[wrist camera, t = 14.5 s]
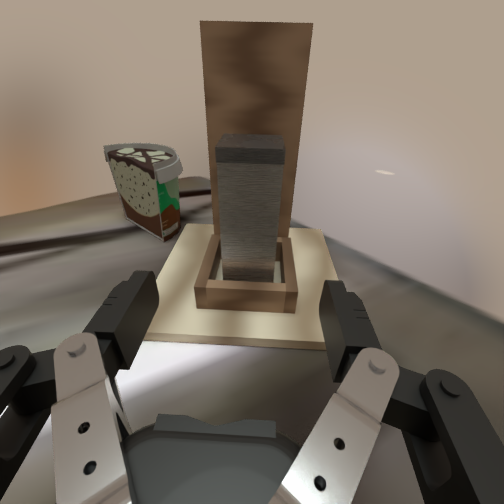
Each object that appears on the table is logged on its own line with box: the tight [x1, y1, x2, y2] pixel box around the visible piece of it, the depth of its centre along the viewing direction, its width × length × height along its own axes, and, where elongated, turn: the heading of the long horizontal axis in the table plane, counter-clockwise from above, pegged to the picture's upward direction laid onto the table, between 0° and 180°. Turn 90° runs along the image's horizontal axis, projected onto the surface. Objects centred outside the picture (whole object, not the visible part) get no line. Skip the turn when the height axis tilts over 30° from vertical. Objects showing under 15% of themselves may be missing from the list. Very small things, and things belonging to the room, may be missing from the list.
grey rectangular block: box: [215, 133, 286, 283], centre depth 23 cm, size 5×5×13 cm
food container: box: [104, 143, 183, 242], centre depth 35 cm, size 12×6×10 cm, turn 50°
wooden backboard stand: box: [143, 21, 338, 350], centre depth 23 cm, size 18×18×21 cm
